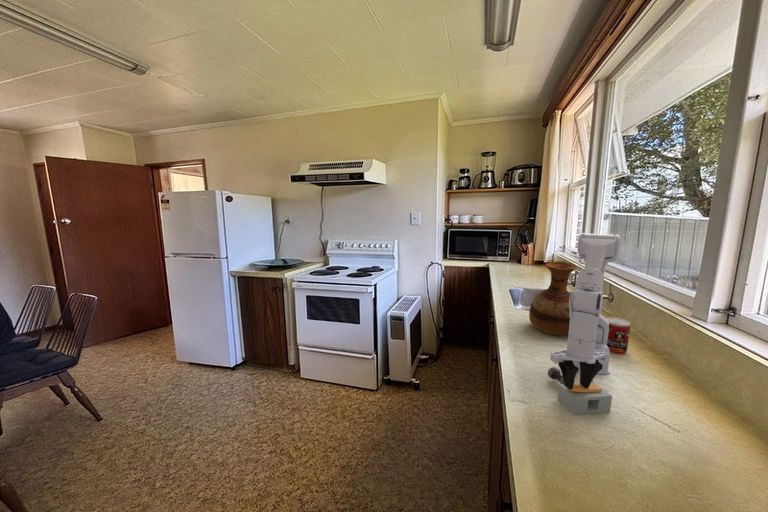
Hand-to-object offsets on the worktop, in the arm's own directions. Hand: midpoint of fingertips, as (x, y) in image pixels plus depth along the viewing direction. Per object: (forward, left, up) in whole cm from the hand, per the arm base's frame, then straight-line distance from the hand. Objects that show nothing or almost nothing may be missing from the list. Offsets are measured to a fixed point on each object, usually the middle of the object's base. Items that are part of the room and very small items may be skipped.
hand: (576, 386), depth 76 cm
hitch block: (-3, 0, -6) cm, 6 cm away
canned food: (-39, -28, -6) cm, 48 cm away
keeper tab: (-2, 0, -1) cm, 2 cm away
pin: (-3, -7, -5) cm, 9 cm away
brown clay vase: (-29, -47, -6) cm, 56 cm away
